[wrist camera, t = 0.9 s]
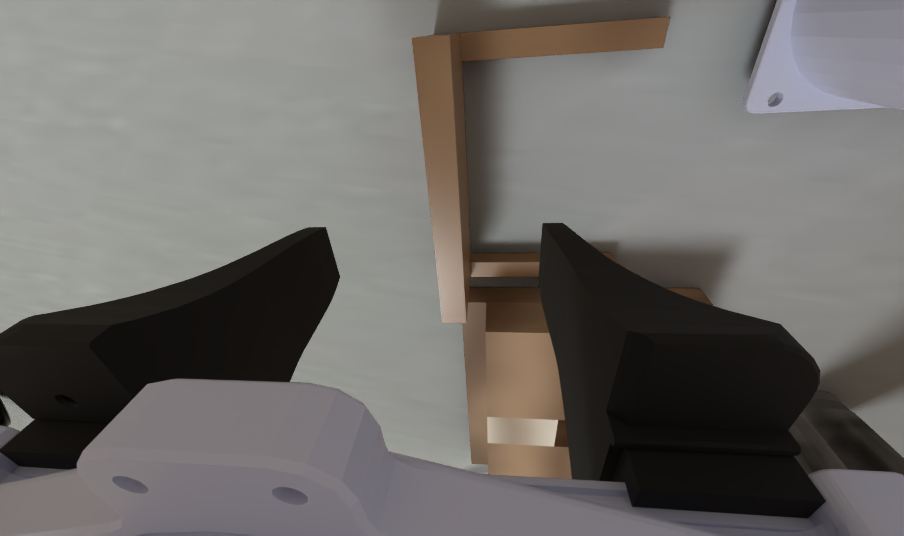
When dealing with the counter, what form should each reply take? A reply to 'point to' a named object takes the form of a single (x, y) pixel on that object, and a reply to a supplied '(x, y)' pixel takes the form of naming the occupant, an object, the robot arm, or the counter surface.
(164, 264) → the counter surface
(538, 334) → the wooden block stack
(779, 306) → the counter surface
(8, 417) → the supplement container
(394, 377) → the counter surface
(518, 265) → the wooden l-shaped bracket
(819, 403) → the beverage cup
